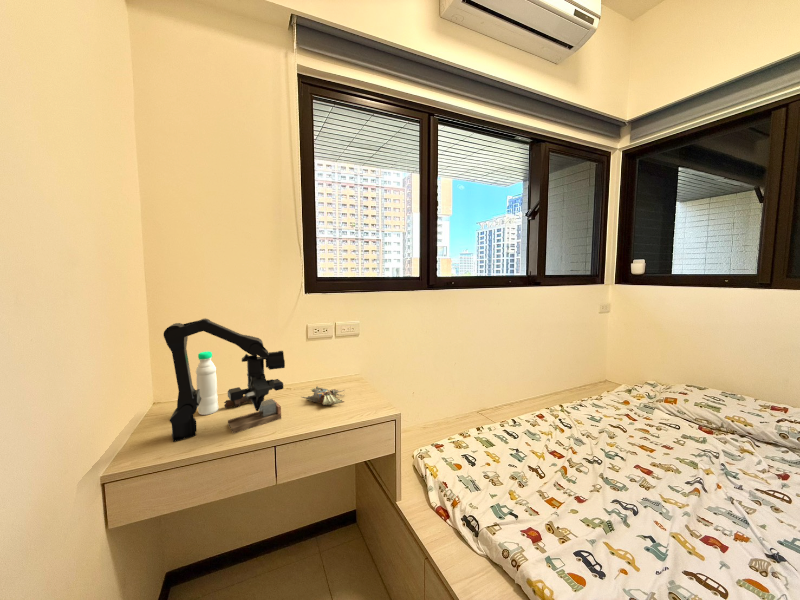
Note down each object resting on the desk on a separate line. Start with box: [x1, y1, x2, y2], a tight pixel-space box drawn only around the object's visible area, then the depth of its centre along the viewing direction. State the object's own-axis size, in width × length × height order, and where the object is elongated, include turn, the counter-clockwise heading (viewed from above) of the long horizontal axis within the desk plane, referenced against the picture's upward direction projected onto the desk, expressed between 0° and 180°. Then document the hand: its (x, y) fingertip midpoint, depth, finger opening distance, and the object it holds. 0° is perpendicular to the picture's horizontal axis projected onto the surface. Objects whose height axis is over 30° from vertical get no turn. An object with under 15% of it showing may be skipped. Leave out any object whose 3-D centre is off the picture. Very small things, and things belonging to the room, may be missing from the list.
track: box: [227, 400, 282, 434], centre depth 117 cm, size 17×8×5 cm, turn 131°
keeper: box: [259, 398, 277, 418], centre depth 120 cm, size 5×5×5 cm
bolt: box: [223, 395, 265, 409], centre depth 133 cm, size 6×5×15 cm
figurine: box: [301, 385, 346, 406], centre depth 135 cm, size 20×6×17 cm
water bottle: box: [195, 351, 219, 416], centre depth 125 cm, size 7×7×25 cm
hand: (257, 410), depth 117 cm, fingers closed
